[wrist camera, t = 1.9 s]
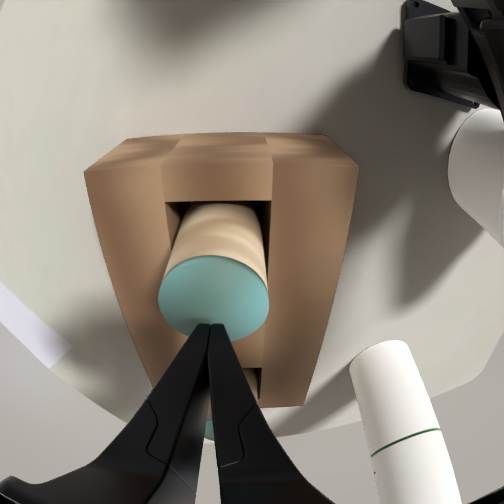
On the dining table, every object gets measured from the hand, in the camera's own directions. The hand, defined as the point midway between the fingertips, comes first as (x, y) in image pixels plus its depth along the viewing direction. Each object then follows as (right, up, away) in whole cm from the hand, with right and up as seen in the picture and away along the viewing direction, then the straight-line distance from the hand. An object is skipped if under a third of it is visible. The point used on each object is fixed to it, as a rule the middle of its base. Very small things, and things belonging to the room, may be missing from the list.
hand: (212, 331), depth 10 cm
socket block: (0, +1, +13) cm, 13 cm away
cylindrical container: (+15, -9, +21) cm, 27 cm away
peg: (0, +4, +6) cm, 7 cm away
